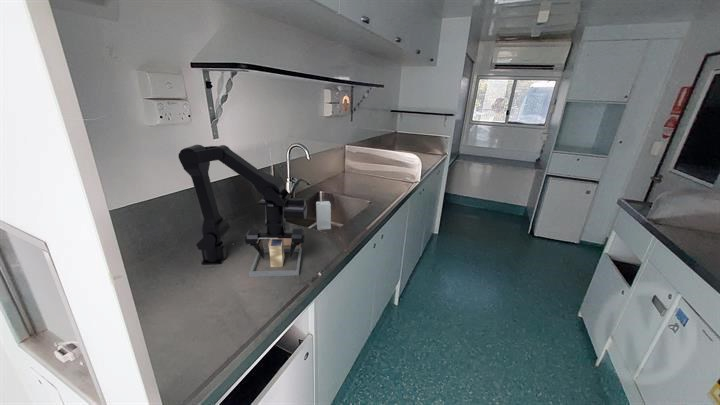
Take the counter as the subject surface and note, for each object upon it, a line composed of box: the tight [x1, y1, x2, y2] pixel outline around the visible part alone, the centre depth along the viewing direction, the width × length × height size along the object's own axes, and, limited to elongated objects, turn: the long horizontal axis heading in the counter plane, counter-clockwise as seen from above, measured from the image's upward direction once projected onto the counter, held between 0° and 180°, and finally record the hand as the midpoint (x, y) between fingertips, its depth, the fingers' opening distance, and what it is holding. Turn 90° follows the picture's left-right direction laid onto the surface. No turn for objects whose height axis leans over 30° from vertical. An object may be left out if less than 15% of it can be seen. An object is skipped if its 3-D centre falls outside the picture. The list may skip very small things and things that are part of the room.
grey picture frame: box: [248, 246, 303, 278], centre depth 101 cm, size 16×16×2 cm
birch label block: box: [269, 239, 285, 268], centre depth 99 cm, size 4×5×8 cm
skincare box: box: [315, 200, 332, 231], centre depth 126 cm, size 6×4×12 cm
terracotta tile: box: [267, 238, 302, 248], centre depth 115 cm, size 12×10×1 cm
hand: (277, 257), depth 100 cm, fingers open, 9 cm apart
